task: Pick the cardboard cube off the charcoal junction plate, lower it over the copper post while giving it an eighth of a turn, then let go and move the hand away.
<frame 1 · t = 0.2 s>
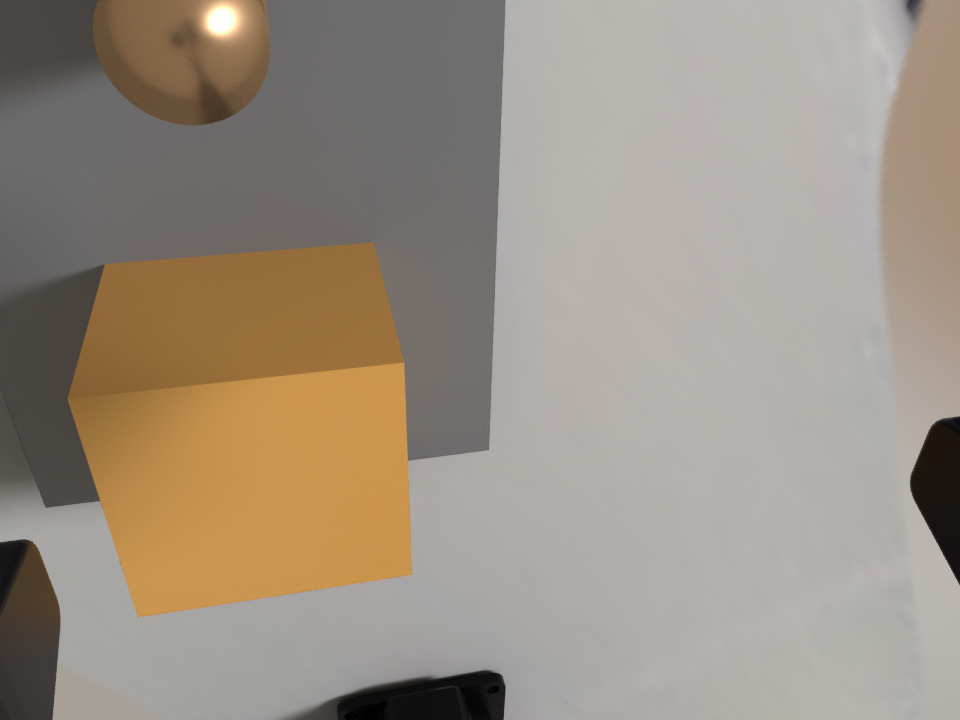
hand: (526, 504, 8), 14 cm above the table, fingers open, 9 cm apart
junction plate: (231, 145, 20), on the table
cardboard cube: (259, 359, 21), point 1 cm above the table, touching junction plate
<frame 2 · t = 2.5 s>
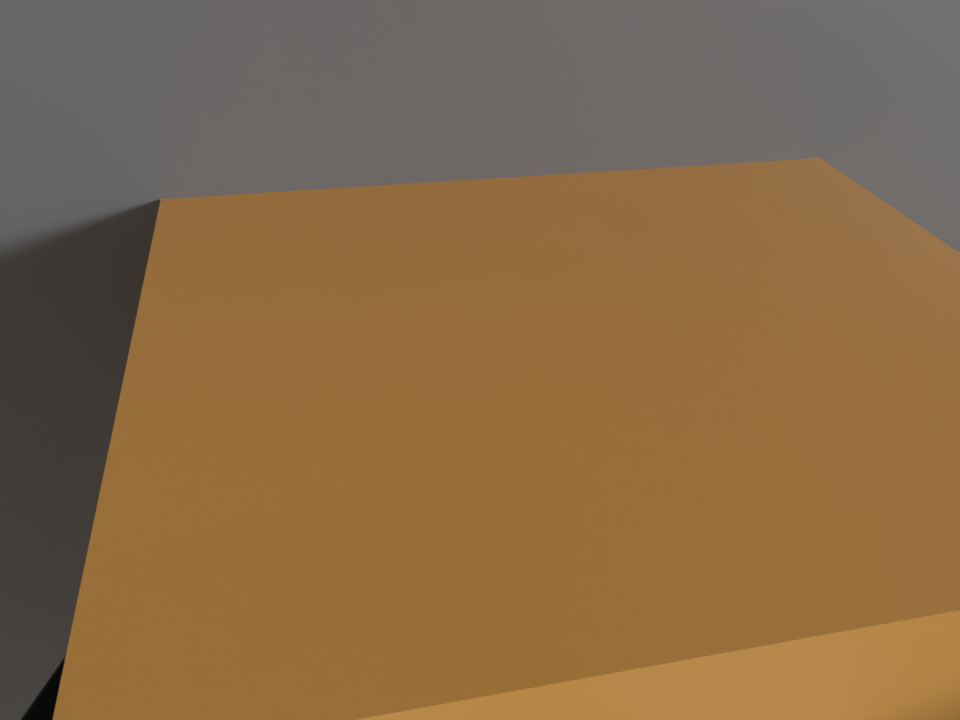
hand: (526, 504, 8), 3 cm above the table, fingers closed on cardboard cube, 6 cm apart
cardboard cube: (502, 439, 9), point 1 cm above the table, touching gripper, junction plate
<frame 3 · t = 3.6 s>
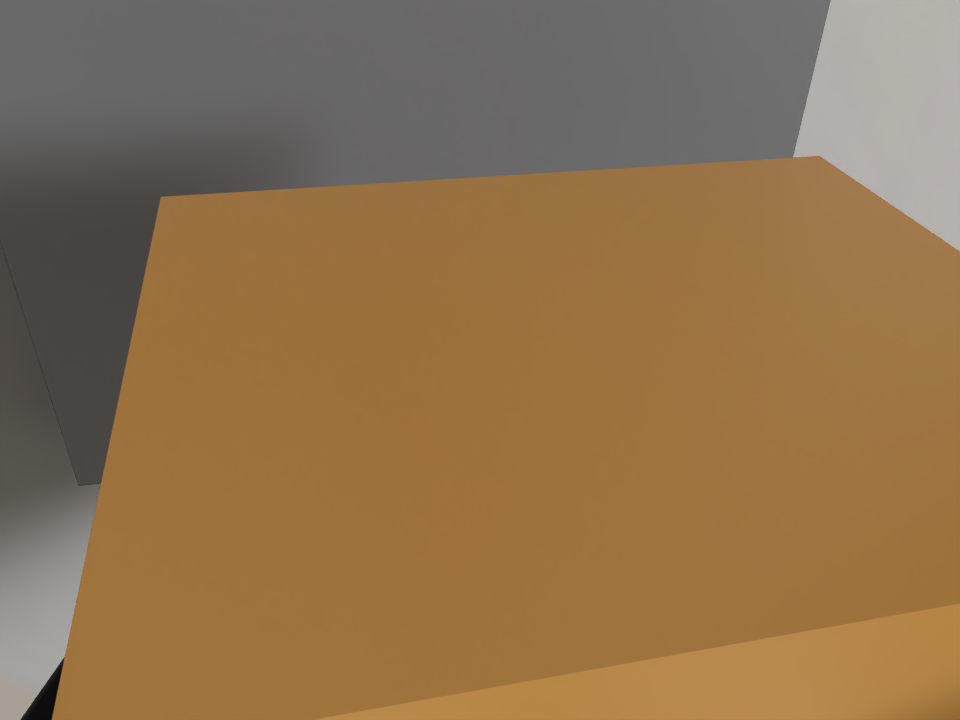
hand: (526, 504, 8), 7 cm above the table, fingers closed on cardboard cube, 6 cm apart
cardboard cube: (501, 436, 9), point 6 cm above the table, touching gripper
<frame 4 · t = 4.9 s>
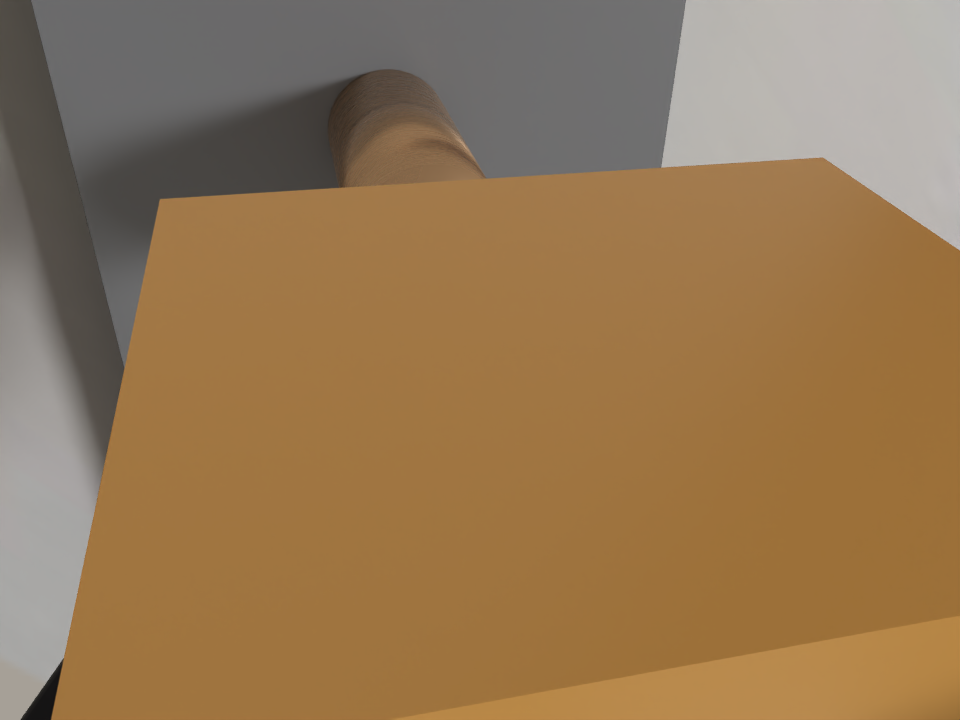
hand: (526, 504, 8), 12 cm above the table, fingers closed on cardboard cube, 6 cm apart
junction plate: (386, 272, 21), on the table
copper post: (388, 130, 17), resting on junction plate
cardboard cube: (503, 440, 9), point 11 cm above the table, touching gripper
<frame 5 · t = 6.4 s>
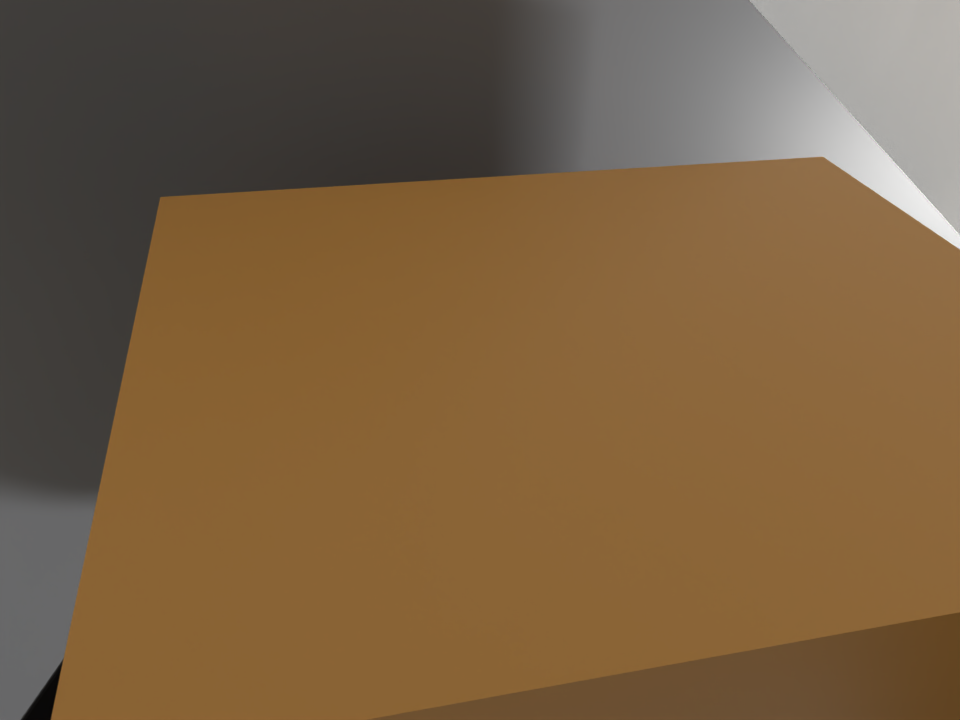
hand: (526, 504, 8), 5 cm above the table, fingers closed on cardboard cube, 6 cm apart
junction plate: (286, 465, 13), on the table
cardboard cube: (502, 438, 9), point 4 cm above the table, touching gripper
when the fingers open (4 cm above the table, at t = 7.5 s): cardboard cube stays where it is, resting on copper post.
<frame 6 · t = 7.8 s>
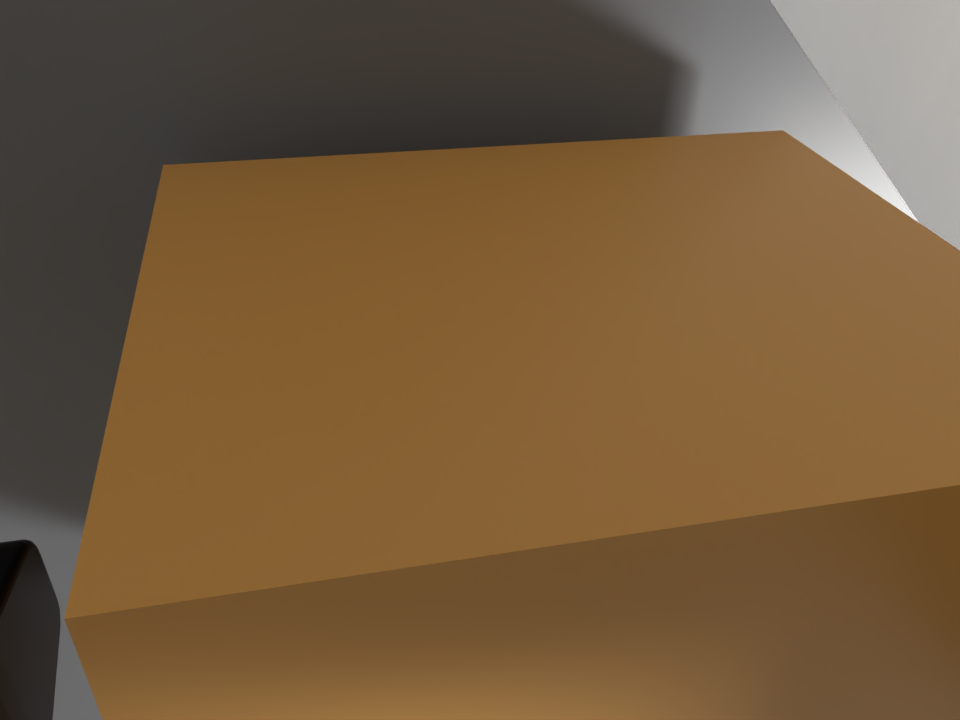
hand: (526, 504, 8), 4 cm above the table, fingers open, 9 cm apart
junction plate: (264, 482, 13), on the table
cardboard cube: (486, 399, 10), point 2 cm above the table, touching copper post
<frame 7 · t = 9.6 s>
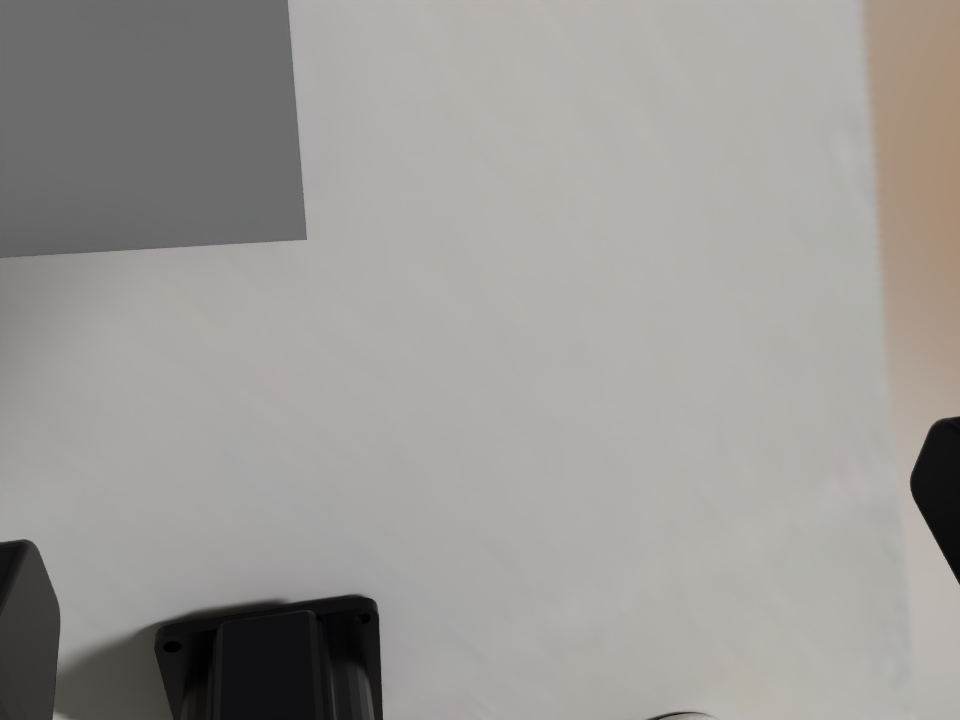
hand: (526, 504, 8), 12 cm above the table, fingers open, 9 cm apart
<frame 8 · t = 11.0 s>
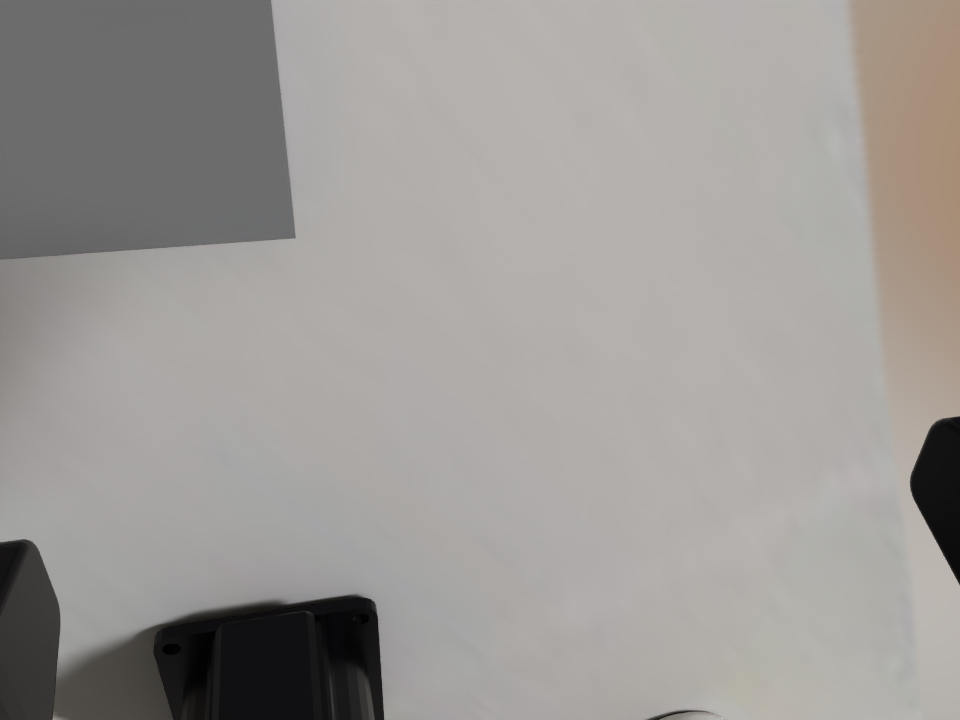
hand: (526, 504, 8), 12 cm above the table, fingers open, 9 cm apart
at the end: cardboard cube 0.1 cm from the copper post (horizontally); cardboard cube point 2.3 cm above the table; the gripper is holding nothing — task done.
